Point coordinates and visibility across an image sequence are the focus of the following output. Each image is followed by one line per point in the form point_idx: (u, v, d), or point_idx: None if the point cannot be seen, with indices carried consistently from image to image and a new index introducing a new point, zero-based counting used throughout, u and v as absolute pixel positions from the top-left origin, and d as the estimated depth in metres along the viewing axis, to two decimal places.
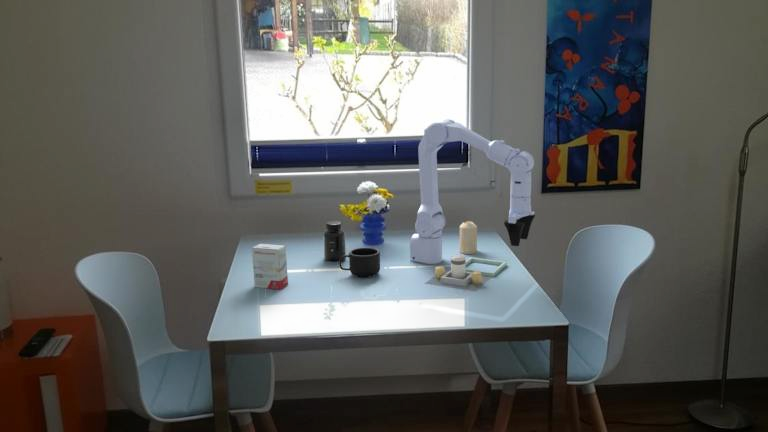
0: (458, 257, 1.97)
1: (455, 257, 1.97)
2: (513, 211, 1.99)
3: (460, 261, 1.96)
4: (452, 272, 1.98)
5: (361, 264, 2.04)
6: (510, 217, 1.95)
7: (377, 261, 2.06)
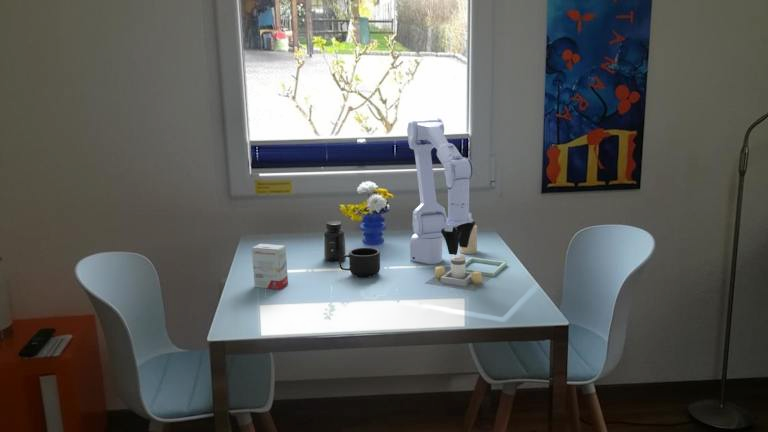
0: (458, 257, 1.97)
1: (455, 257, 1.97)
2: (451, 219, 1.93)
3: (460, 261, 1.96)
4: (452, 272, 1.98)
5: (361, 264, 2.04)
6: (446, 225, 1.89)
7: (377, 261, 2.06)
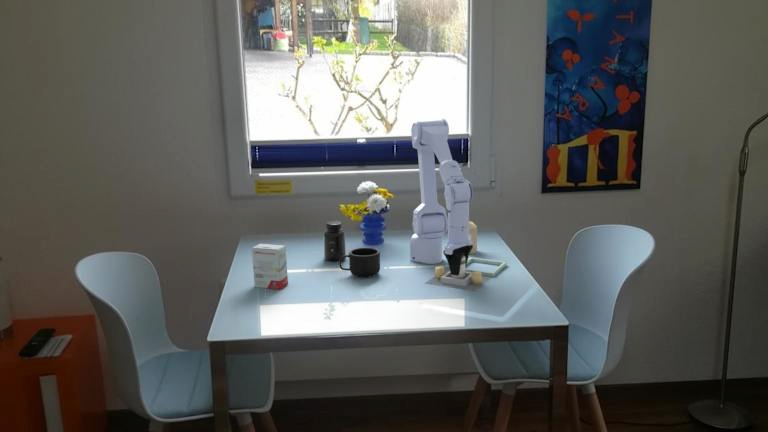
0: None
1: None
2: (450, 241, 1.95)
3: None
4: None
5: (361, 264, 2.04)
6: (446, 248, 1.91)
7: (377, 261, 2.06)
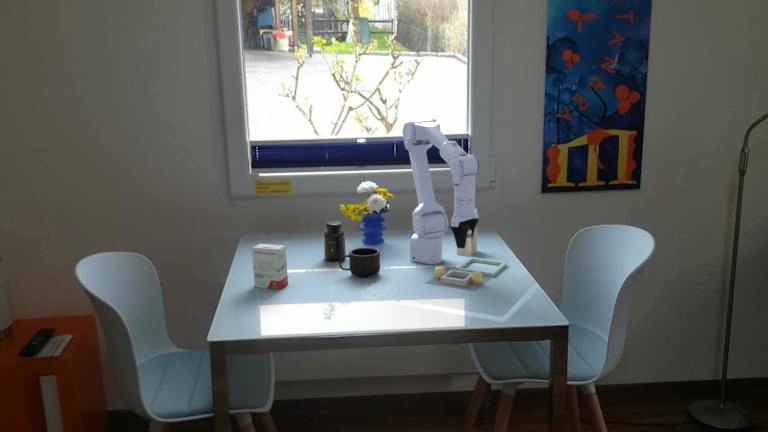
0: None
1: None
2: (457, 214, 1.96)
3: (467, 234, 1.97)
4: None
5: (361, 264, 2.04)
6: (452, 220, 1.92)
7: (377, 261, 2.06)
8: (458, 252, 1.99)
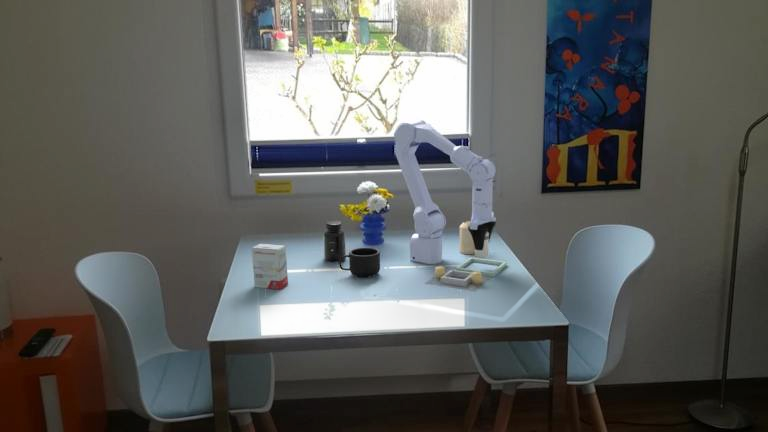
0: None
1: None
2: (475, 217, 2.04)
3: (485, 236, 2.05)
4: None
5: (361, 264, 2.04)
6: (471, 223, 2.00)
7: (377, 261, 2.06)
8: (476, 254, 2.07)
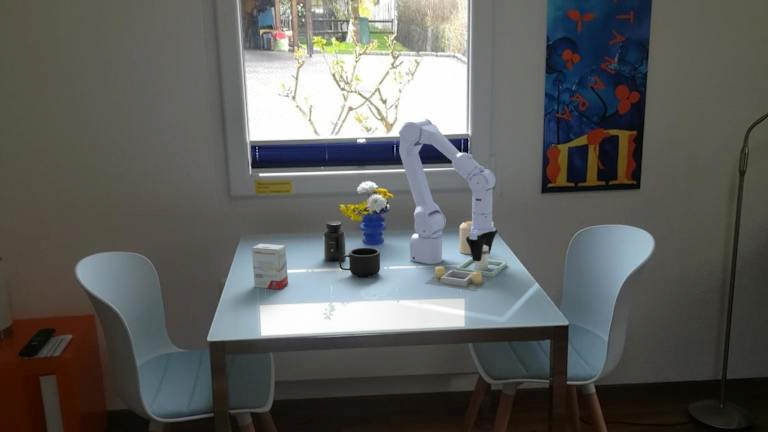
0: None
1: None
2: (475, 227, 2.05)
3: (484, 251, 2.06)
4: (476, 262, 2.08)
5: (361, 264, 2.04)
6: (471, 233, 2.01)
7: (377, 261, 2.06)
8: (476, 268, 2.09)
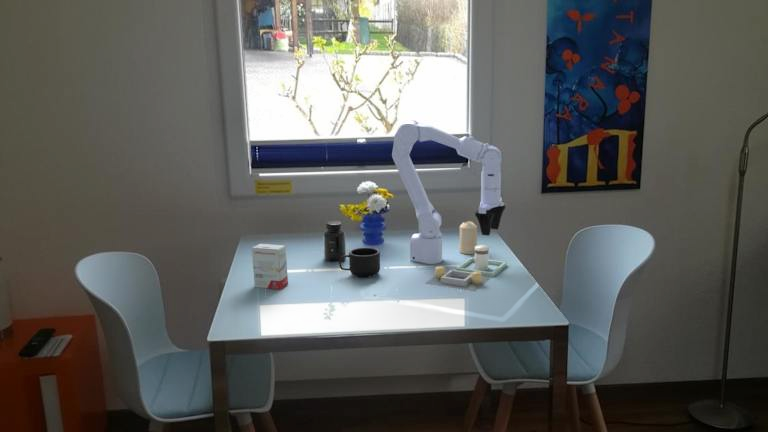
0: (482, 247, 2.07)
1: (479, 247, 2.07)
2: (484, 202, 2.09)
3: (484, 251, 2.06)
4: (476, 262, 2.08)
5: (361, 264, 2.04)
6: (480, 208, 2.05)
7: (377, 261, 2.06)
8: (476, 268, 2.09)
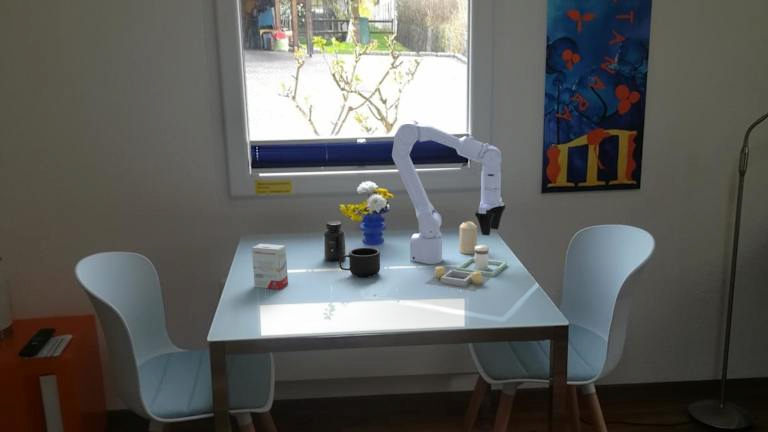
0: (482, 247, 2.07)
1: (479, 247, 2.07)
2: (484, 202, 2.09)
3: (484, 251, 2.06)
4: (476, 262, 2.08)
5: (361, 264, 2.04)
6: (480, 208, 2.05)
7: (377, 261, 2.06)
8: (476, 268, 2.09)
